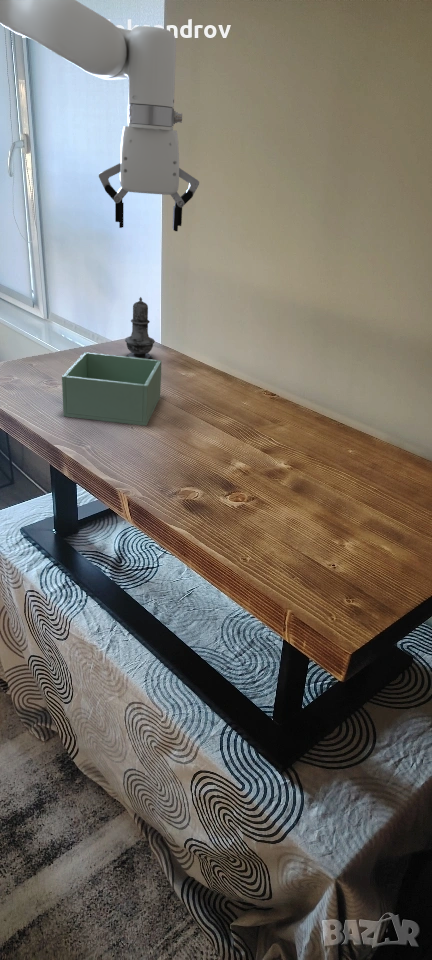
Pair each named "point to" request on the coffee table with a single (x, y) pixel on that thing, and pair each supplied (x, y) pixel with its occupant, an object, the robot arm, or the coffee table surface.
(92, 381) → the box
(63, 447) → the coffee table surface
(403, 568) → the coffee table surface
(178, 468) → the coffee table surface
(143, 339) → the salt shaker
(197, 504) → the coffee table surface
